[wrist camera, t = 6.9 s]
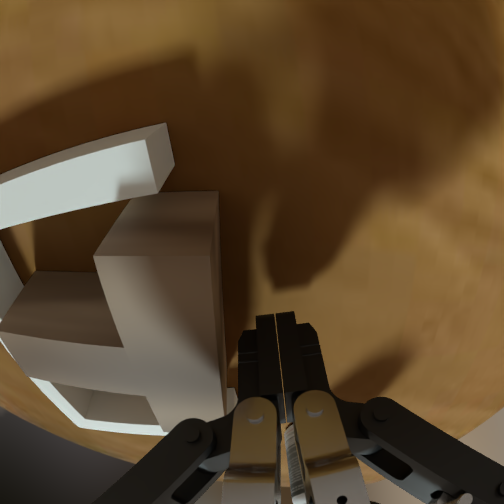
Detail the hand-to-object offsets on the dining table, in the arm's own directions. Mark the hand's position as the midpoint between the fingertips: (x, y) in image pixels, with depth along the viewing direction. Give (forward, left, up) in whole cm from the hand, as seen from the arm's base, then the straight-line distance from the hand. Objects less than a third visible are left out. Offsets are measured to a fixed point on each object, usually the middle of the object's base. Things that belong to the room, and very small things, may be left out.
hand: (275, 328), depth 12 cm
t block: (-1, -7, -2) cm, 7 cm away
